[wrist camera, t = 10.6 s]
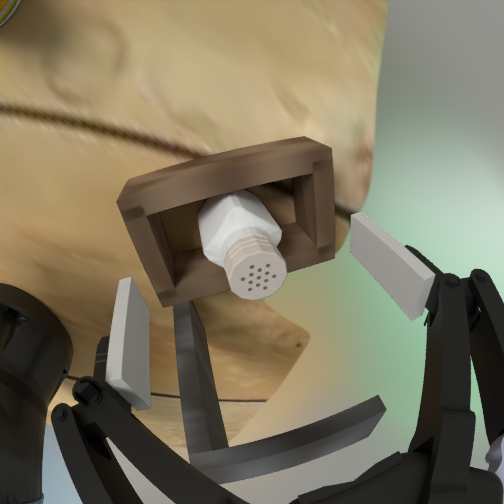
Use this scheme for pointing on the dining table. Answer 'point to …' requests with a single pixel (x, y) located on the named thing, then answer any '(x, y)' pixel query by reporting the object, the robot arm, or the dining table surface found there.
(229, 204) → the pepper shaker
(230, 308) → the dining table surface
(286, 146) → the brown and grey frame
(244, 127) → the dining table surface
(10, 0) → the supplement bottle
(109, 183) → the dining table surface
